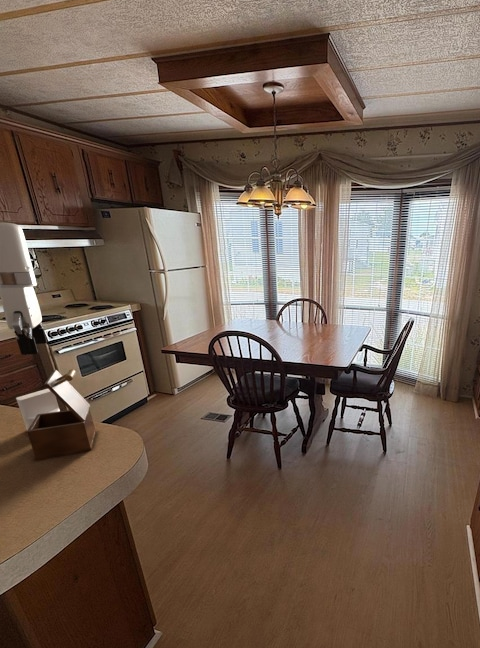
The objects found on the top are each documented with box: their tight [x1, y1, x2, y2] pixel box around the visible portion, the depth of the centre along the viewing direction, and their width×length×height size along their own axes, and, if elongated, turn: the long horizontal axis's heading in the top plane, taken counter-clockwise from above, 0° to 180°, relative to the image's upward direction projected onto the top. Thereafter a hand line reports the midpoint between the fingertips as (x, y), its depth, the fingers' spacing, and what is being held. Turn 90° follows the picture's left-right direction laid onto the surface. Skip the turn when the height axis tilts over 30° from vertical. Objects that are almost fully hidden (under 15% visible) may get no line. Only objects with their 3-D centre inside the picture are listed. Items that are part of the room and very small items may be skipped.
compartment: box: [26, 407, 97, 461], centre depth 98 cm, size 13×11×9 cm
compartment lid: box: [44, 369, 91, 422], centre depth 95 cm, size 13×11×5 cm
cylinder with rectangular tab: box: [15, 388, 61, 431], centre depth 105 cm, size 9×9×12 cm
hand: (35, 348), depth 88 cm, fingers open, 9 cm apart
